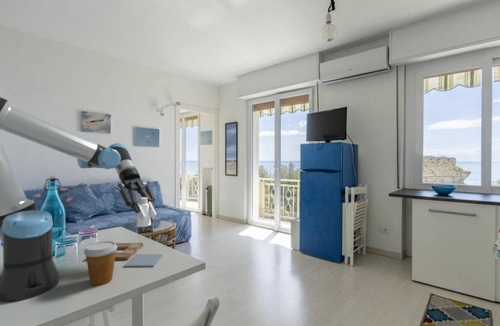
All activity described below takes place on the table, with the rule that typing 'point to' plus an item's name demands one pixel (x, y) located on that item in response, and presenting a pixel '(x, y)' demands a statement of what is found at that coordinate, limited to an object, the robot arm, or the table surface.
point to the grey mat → (143, 260)
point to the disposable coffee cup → (100, 261)
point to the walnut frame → (127, 250)
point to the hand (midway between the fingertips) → (149, 217)
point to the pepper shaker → (146, 210)
